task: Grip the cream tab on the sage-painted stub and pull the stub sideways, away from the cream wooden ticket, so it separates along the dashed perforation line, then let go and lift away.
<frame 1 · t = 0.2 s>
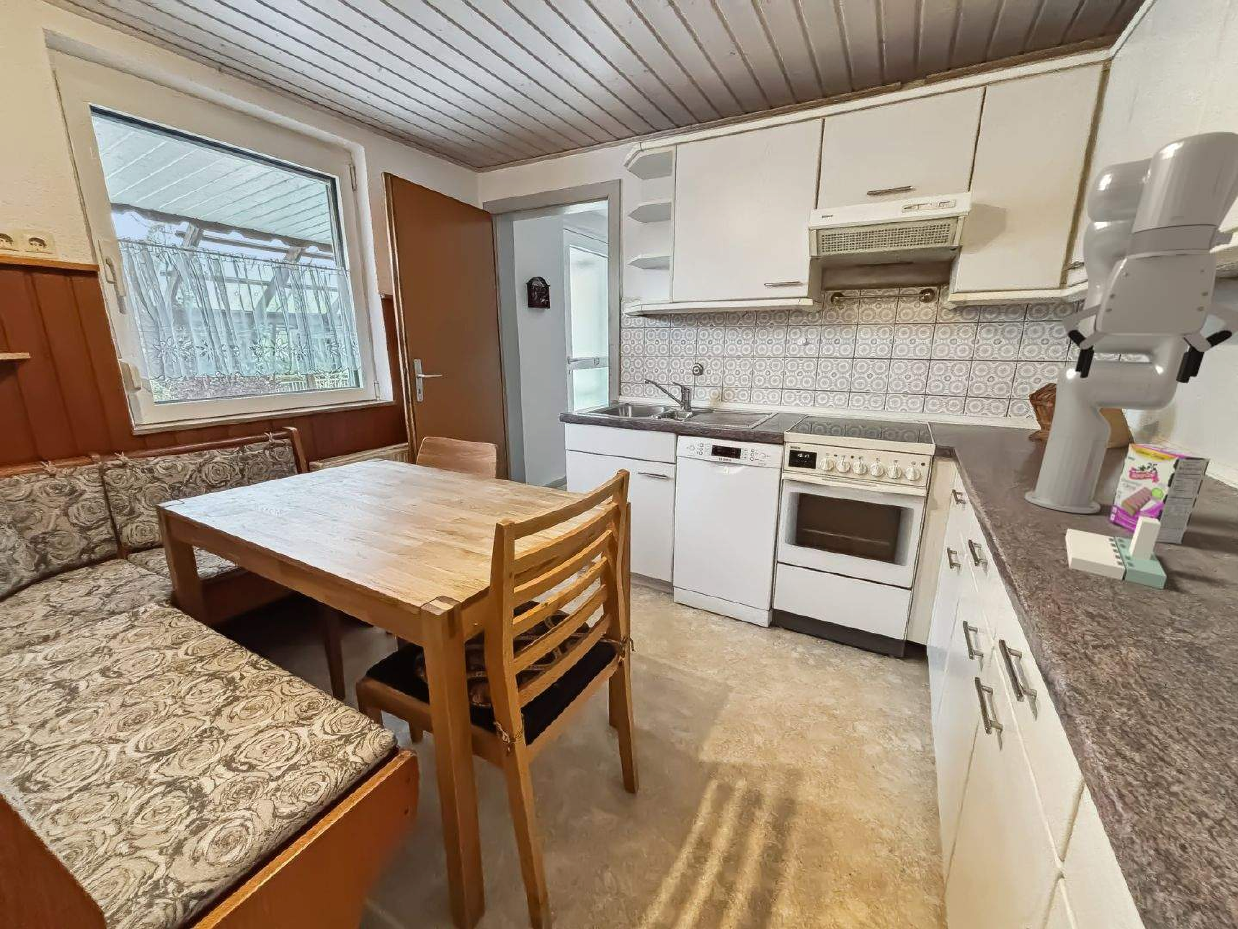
hand: (1130, 379, 67), 30 cm above the countertop, tool pointing down, fingers open, 9 cm apart
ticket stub: (1142, 543, 78), point 4 cm above the countertop, slide at 0.0 cm
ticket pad: (1090, 557, 82), on the countertop
candy bar box: (1141, 533, 93), on the countertop
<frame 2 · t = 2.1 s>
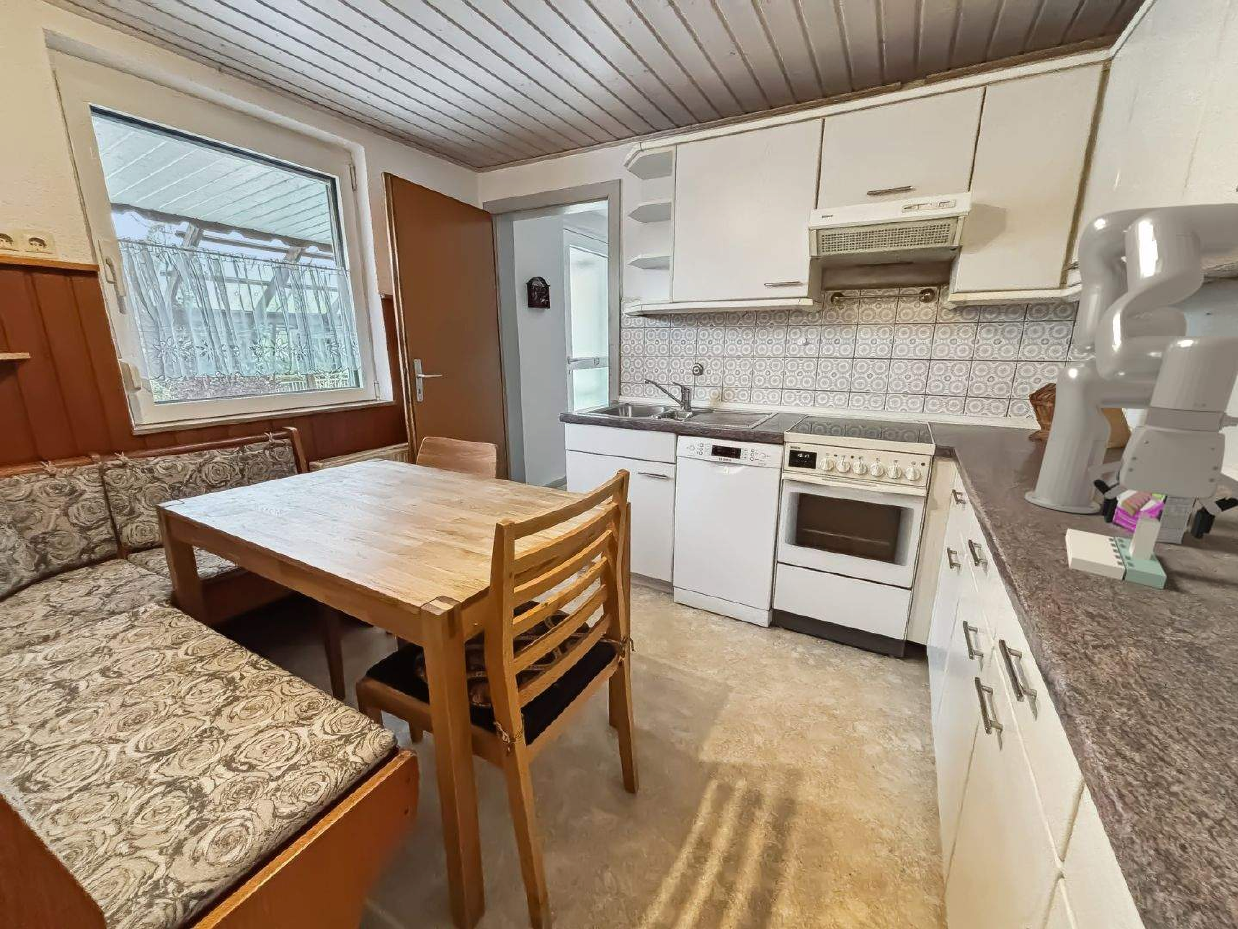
hand: (1149, 528, 77), 7 cm above the countertop, tool pointing down, fingers open, 9 cm apart
nothing on the countertop moved.
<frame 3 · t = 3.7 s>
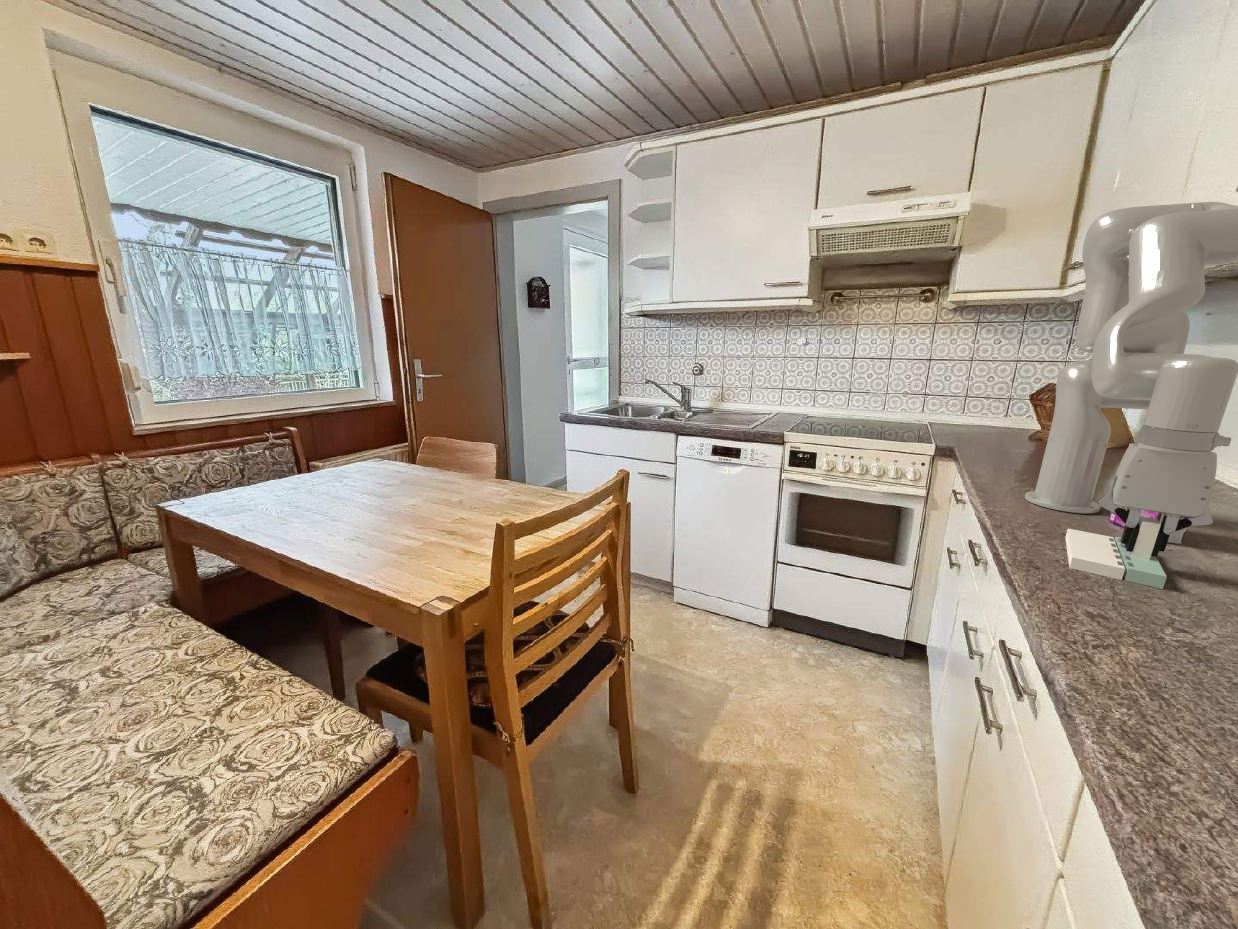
hand: (1140, 550, 78), 3 cm above the countertop, tool pointing down, fingers closed on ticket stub, 2 cm apart
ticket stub: (1142, 543, 78), point 4 cm above the countertop, slide at 0.0 cm, touching gripper
everything else where it was.
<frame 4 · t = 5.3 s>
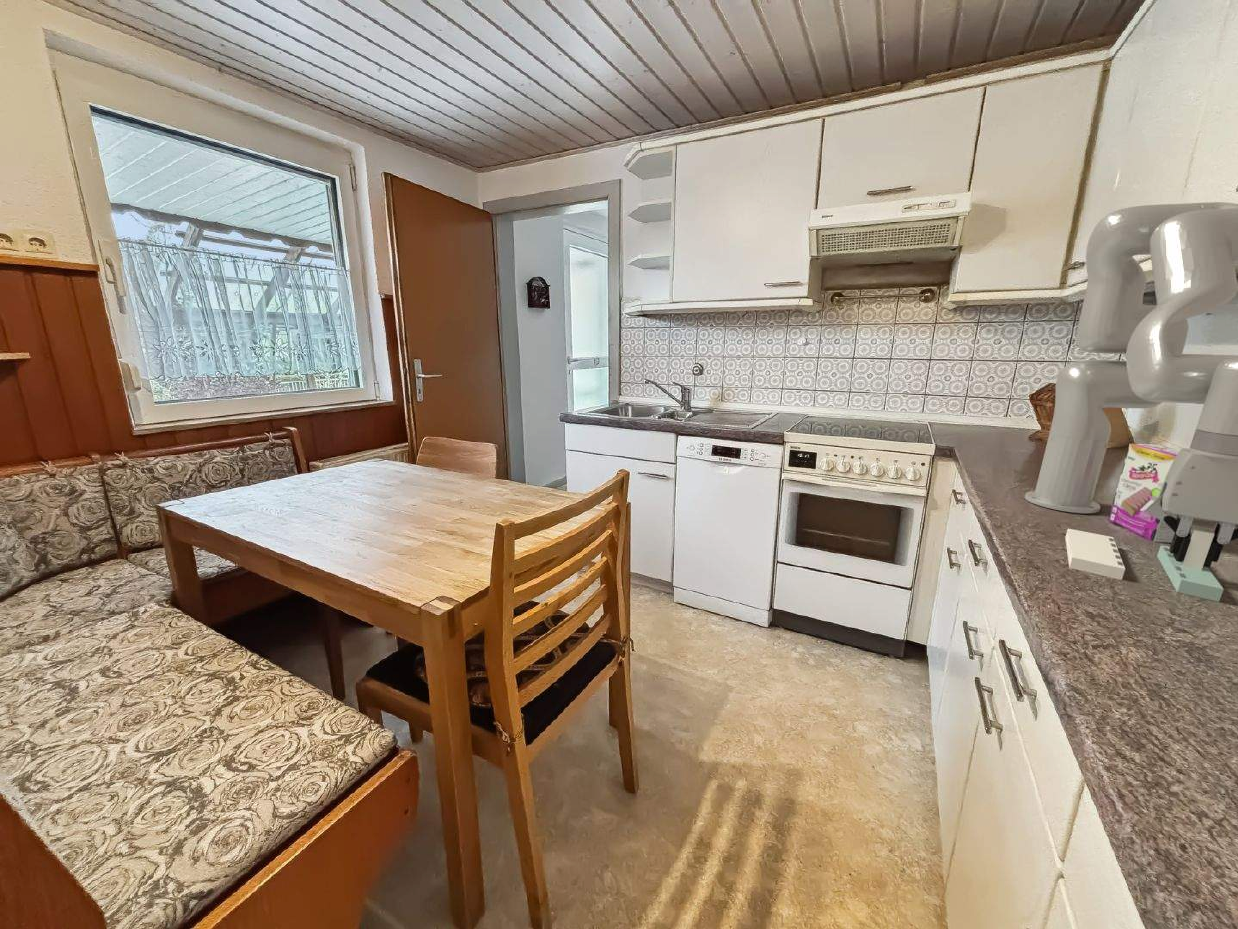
hand: (1190, 560, 75), 3 cm above the countertop, tool pointing down, fingers closed on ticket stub, 2 cm apart
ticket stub: (1193, 553, 75), point 4 cm above the countertop, slide at 5.5 cm, touching gripper
everything else where it was.
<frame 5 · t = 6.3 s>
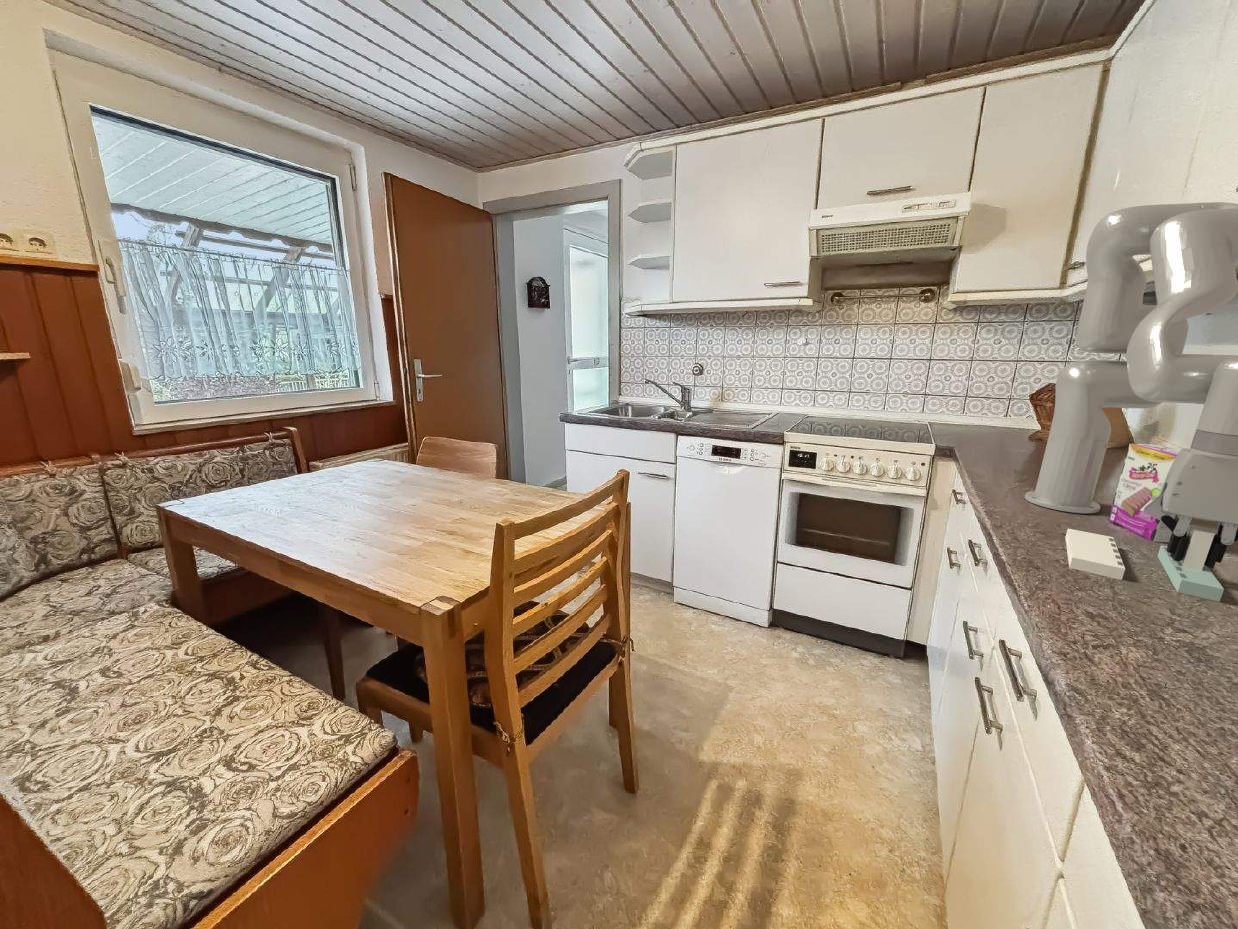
hand: (1191, 560, 75), 3 cm above the countertop, tool pointing down, fingers closed
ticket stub: (1193, 553, 75), point 4 cm above the countertop, slide at 5.5 cm
everything else where it was.
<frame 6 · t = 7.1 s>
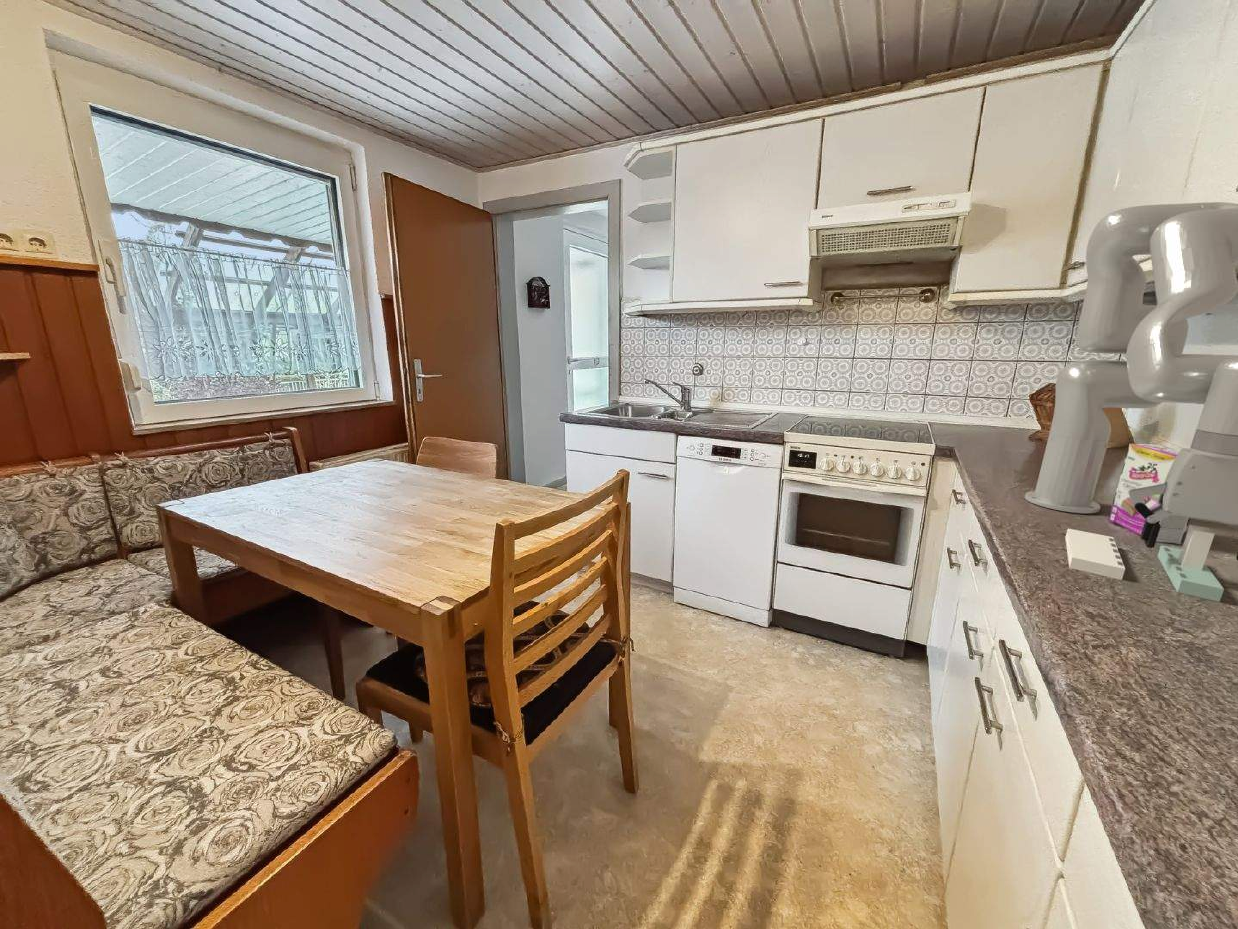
hand: (1193, 553, 75), 4 cm above the countertop, tool pointing down, fingers open, 9 cm apart
nothing on the countertop moved.
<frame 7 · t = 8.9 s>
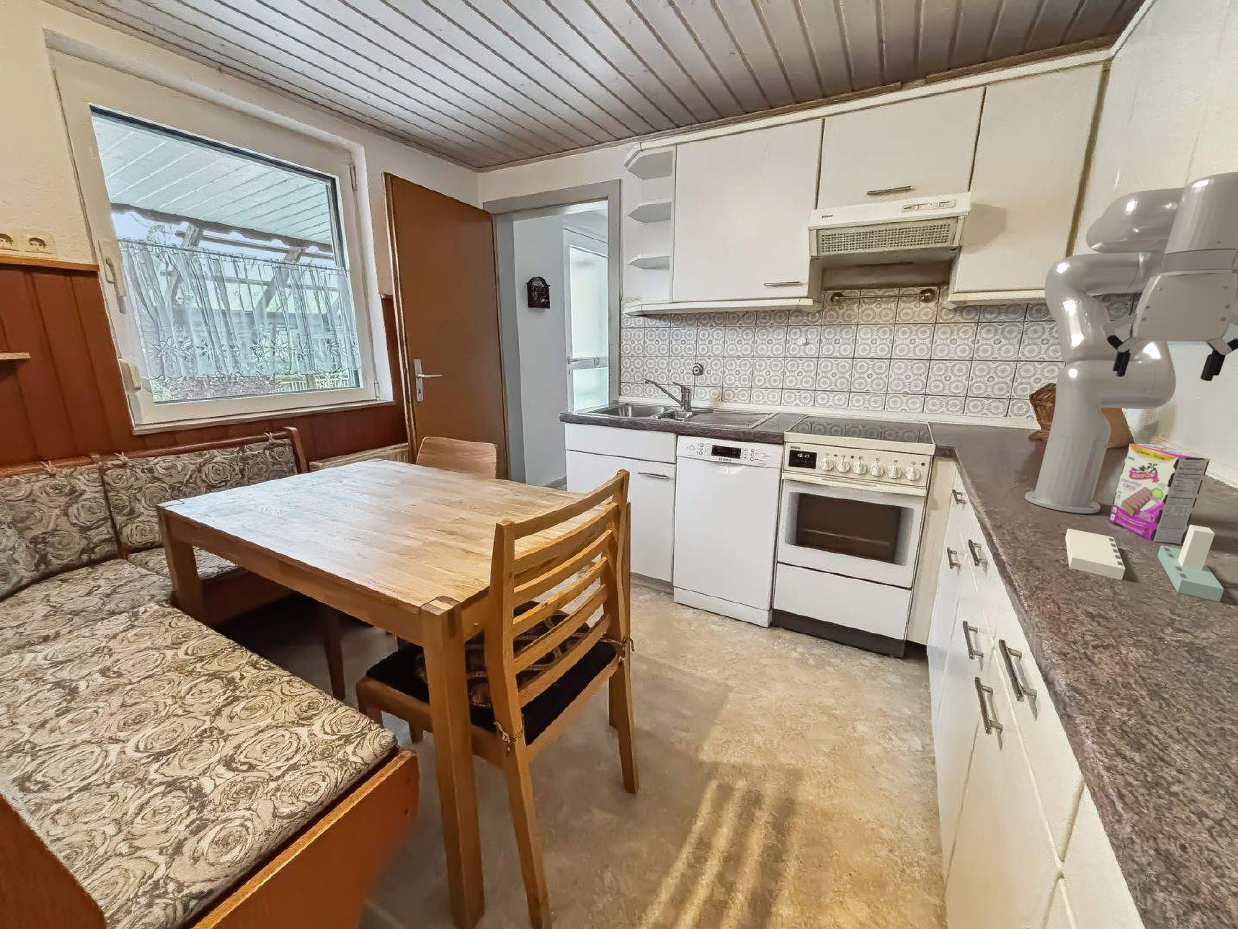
hand: (1161, 378, 79), 30 cm above the countertop, tool pointing down, fingers open, 9 cm apart
nothing on the countertop moved.
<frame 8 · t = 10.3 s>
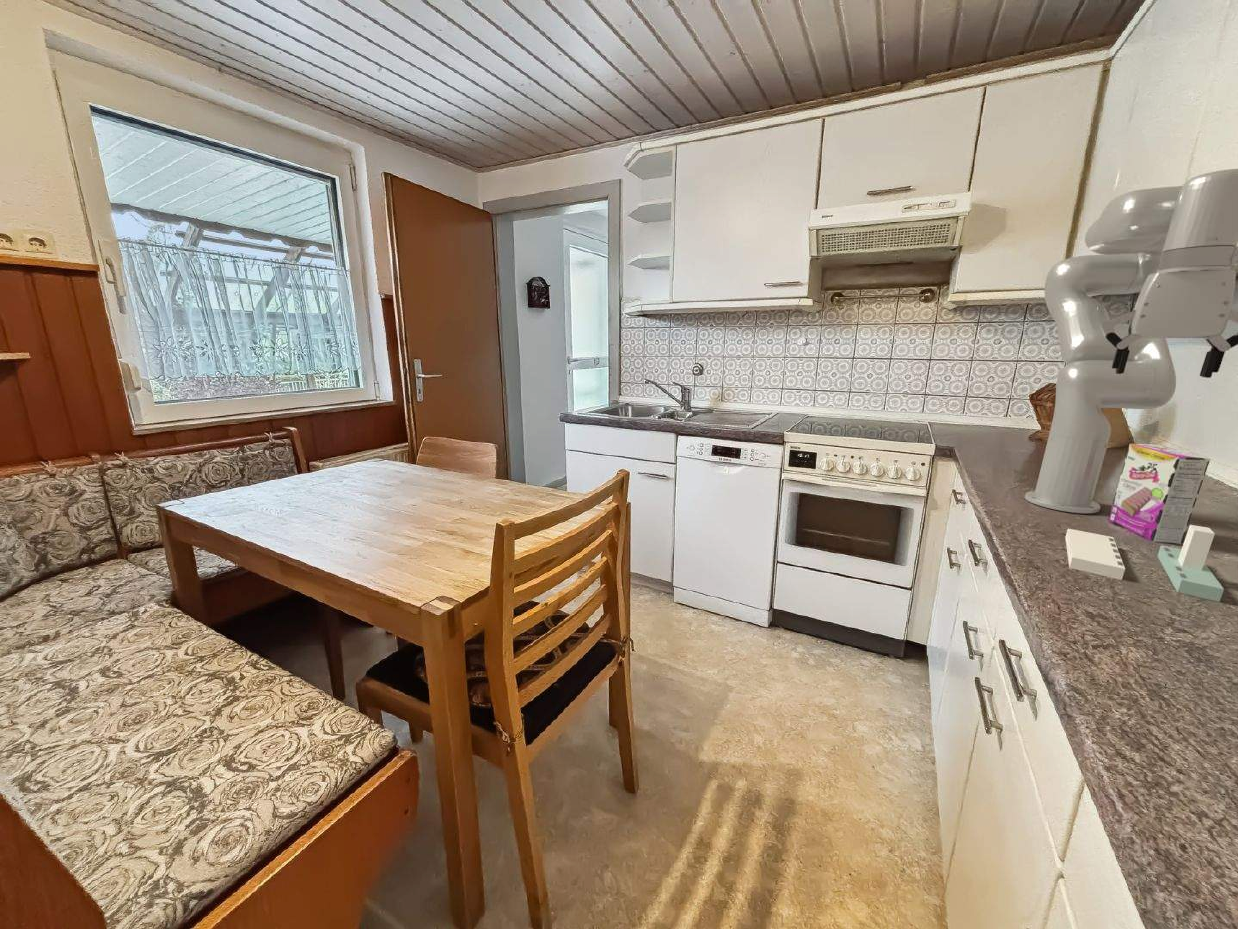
hand: (1160, 375, 79), 30 cm above the countertop, tool pointing down, fingers open, 9 cm apart
nothing on the countertop moved.
at the end: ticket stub slide at 5.5 cm; the gripper is holding nothing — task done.
